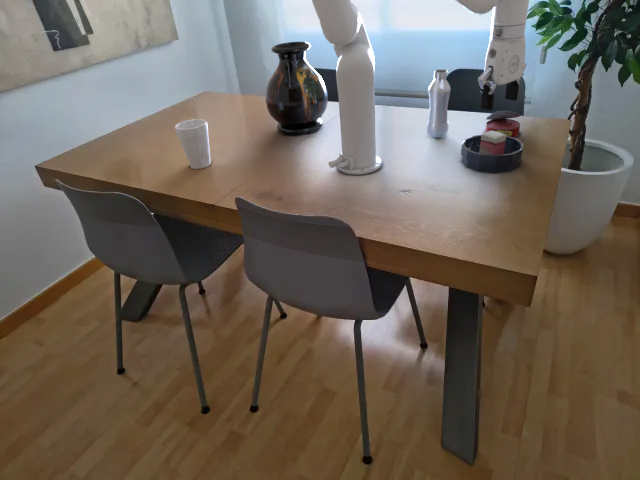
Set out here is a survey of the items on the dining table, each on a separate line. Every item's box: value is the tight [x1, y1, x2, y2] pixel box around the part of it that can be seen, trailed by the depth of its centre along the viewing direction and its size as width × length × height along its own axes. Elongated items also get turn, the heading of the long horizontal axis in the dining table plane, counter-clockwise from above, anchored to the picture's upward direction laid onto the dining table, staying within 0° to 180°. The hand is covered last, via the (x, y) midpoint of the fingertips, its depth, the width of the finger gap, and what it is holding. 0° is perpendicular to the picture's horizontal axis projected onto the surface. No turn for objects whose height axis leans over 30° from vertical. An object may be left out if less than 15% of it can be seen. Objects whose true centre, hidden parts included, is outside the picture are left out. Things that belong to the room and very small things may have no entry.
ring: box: [460, 134, 525, 174], centre depth 122 cm, size 15×15×5 cm
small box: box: [479, 131, 506, 155], centre depth 121 cm, size 5×4×8 cm
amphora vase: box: [265, 41, 329, 136], centre depth 152 cm, size 22×22×28 cm
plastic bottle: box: [426, 69, 452, 138], centre depth 137 cm, size 6×7×20 cm
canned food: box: [484, 109, 521, 138], centre depth 138 cm, size 11×10×10 cm
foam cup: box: [174, 118, 212, 170], centre depth 136 cm, size 10×9×13 cm
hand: (498, 104), depth 114 cm, fingers open, 9 cm apart
